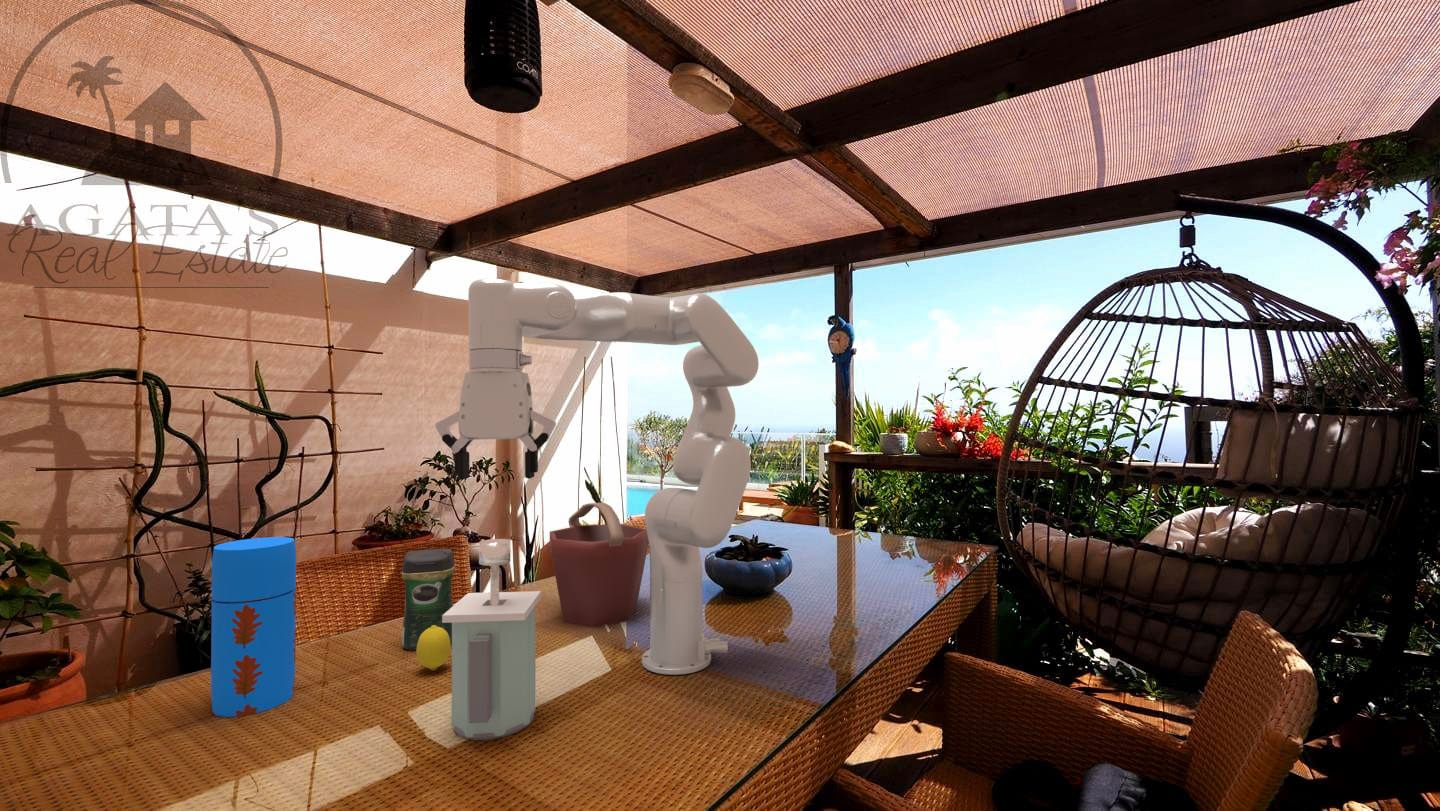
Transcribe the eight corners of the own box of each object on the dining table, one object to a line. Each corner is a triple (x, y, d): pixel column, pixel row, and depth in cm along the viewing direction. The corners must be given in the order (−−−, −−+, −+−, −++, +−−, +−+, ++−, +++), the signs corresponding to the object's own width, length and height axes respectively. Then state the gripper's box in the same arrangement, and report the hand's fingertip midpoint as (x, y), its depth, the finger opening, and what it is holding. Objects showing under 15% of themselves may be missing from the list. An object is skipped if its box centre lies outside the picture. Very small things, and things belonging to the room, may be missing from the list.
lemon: (437, 678, 109) (437, 631, 109) (409, 675, 110) (409, 629, 110) (457, 665, 115) (457, 621, 115) (429, 663, 116) (430, 619, 116)
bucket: (548, 603, 153) (548, 499, 153) (639, 595, 159) (638, 495, 160) (553, 637, 129) (553, 514, 130) (659, 625, 136) (659, 509, 136)
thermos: (202, 723, 93) (203, 553, 94) (219, 695, 103) (220, 540, 103) (290, 707, 98) (291, 545, 99) (299, 682, 108) (300, 534, 108)
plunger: (528, 693, 98) (528, 536, 98) (515, 718, 90) (515, 546, 90) (475, 695, 97) (475, 537, 98) (457, 720, 89) (458, 547, 90)
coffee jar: (457, 634, 131) (457, 544, 131) (452, 647, 123) (452, 552, 124) (405, 639, 128) (406, 547, 129) (397, 653, 121) (398, 555, 121)
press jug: (520, 747, 86) (520, 618, 86) (435, 750, 85) (435, 621, 86) (541, 702, 100) (541, 591, 100) (467, 705, 99) (468, 593, 99)
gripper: (559, 365, 99) (560, 474, 99) (445, 366, 98) (446, 477, 98) (550, 361, 92) (551, 479, 91) (426, 362, 90) (427, 482, 90)
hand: (497, 478), depth 94 cm, fingers open, 9 cm apart
